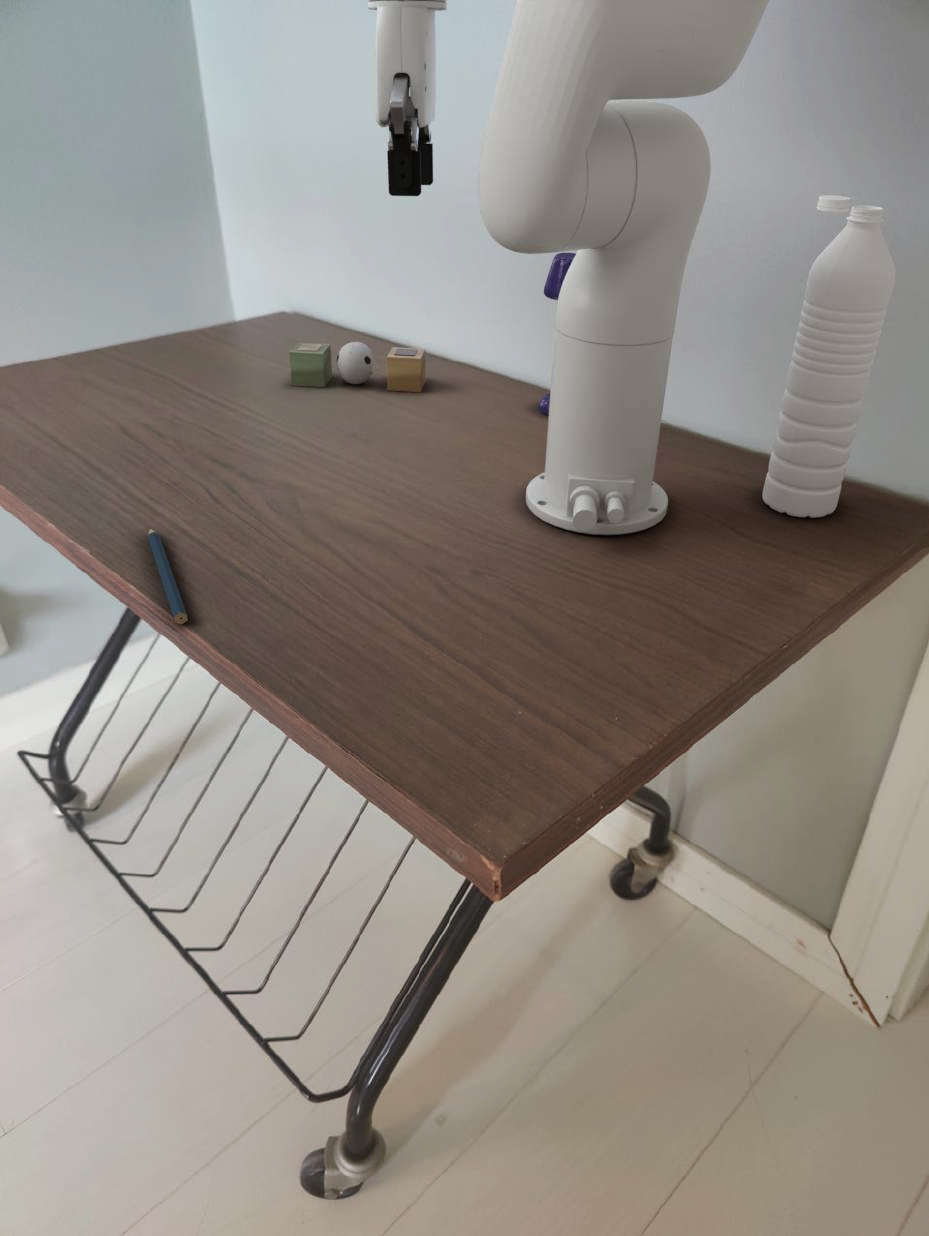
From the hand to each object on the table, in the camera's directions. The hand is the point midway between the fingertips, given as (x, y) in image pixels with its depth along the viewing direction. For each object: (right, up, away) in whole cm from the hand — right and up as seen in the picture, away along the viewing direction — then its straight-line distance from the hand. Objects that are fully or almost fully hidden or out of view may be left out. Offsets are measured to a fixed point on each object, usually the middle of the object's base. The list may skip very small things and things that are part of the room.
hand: (412, 189), depth 95 cm
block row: (-7, -17, +14) cm, 23 cm away
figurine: (-7, -17, +14) cm, 23 cm away
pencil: (-14, -45, -31) cm, 57 cm away
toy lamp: (+16, -22, +7) cm, 28 cm away
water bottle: (+36, -34, -11) cm, 50 cm away
